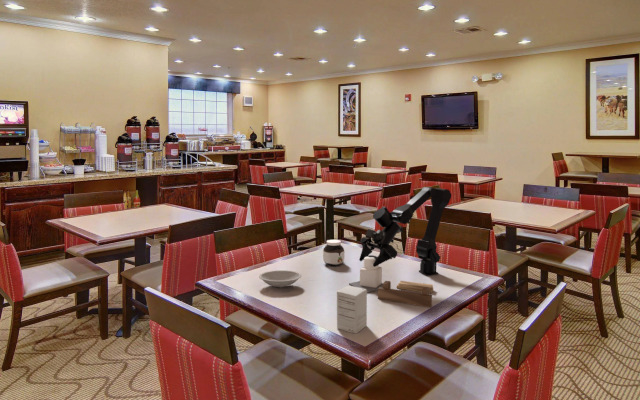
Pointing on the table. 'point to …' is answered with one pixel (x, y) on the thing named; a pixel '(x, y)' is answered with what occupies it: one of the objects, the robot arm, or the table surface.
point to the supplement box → (351, 309)
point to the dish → (280, 278)
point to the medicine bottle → (370, 273)
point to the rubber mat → (369, 289)
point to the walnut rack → (405, 295)
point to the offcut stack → (414, 286)
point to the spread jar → (333, 253)
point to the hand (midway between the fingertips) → (366, 263)
